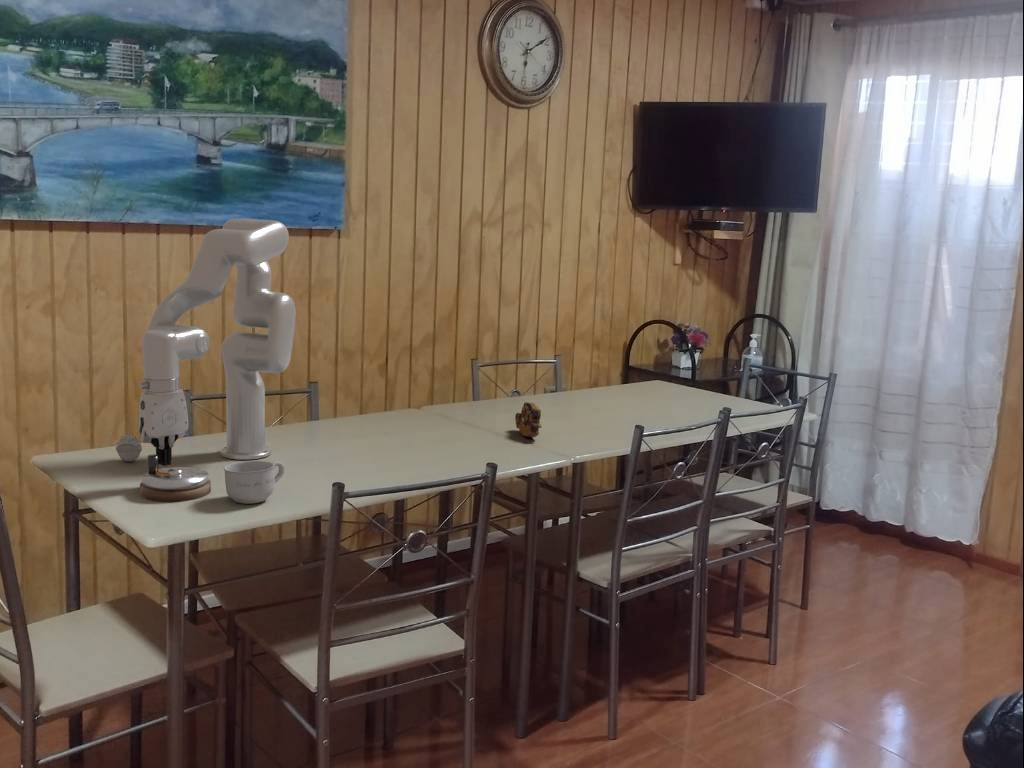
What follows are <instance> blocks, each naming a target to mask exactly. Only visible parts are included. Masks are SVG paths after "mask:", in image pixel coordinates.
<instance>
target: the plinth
mask: <svg viewBox="0 0 1024 768" xmlns="http://www.w3.org/2000/svg"><path fill="white" fill-rule="evenodd" d="M211 483H212V481H211V479H210V478H208V483H207V484H205V485H203V486H201V487H198V488H194V489H188V490H180V491H160V490H153V489H149V488H146V487H144V486H143V485H142V481H141V482H140V484H139V495H140V497H142V498H143V499H145V500H149V501H154V502H162V503H167V502H168V503H174V502H186V501H187V502H188V501H192V500H197V499H200V498H203V497H206V496H208V495H209V494H210V493H211V491H212V489H211V488H212V487H211V486H212V485H211Z"/></svg>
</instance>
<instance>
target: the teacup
mask: <svg viewBox="0 0 1024 768" xmlns="http://www.w3.org/2000/svg"><path fill="white" fill-rule="evenodd" d="M275 467H278V472H277V473H276V475H275ZM223 470H224V482H225V483H224V484H225V489H226V490H225V491H226V494H227V496H228V497H229V498H231V499H232V500H234V502H236V503H238V504H248V505H249V504H250V505H251V504H256V503H257V504H258V503H262V502H264V501H266V500H267V499H268V498H269V497H270V496H271V495H272V494H273V493H274V490H275V485H276V483H277V482H278V481H280V479H281V478H282V477H283V476H284V474H285V467H284V464H283V463H282V462H280V461H272V462H270V461H266V460H246V461H245V460H244V461H238V462H233V463H229V464H227V465H225V466H224V467H223Z"/></svg>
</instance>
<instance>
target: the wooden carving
mask: <svg viewBox="0 0 1024 768" xmlns="http://www.w3.org/2000/svg"><path fill="white" fill-rule="evenodd" d="M541 416H542V410H541V409H540V407H539V405H538V404H537V403H535V402H528V401H527V402H525V401H524V403H523V406H522V408H521V412H516V413H515V420H514V421H515V427H516V428H517V429H518V430H519V433H520V434H521V436H523V437H528V438H536V437H537V436H538V435H540V430H539V429H542V423H540V420H541Z"/></svg>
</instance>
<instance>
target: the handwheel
mask: <svg viewBox="0 0 1024 768" xmlns="http://www.w3.org/2000/svg"><path fill="white" fill-rule="evenodd" d="M208 479H209V472H207V471H206V470H205V469H202V468H201V469H200V468H198V467H190V466H189V467H188V466H173V467H172V466H171V467H170V466H169V467H162V468H159V464H158V455H156V453H154V454H148V455H147V472H145V473H143V475H141V482H142V485H143V486H144V487H146V488H149V489H153V490H160V491H180V490H188V489H194V488H198V487H201V486H203V485H205V484H207V483H208Z"/></svg>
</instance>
